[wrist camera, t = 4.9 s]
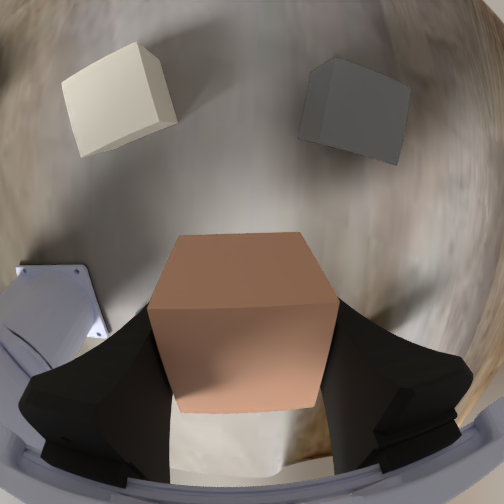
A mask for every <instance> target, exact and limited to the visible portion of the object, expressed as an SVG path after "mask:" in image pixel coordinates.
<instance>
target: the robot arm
mask: <svg viewBox="0 0 504 504" xmlns="http://www.w3.org/2000/svg"><path fill="white" fill-rule="evenodd" d="M76 269H77V270H79V272H78V271H77V270H76ZM16 272H17V275H18V277H17V278H16V279H15V280H14V281H13V282H12V283H11V284H10V285H9V286H8V287H7V288H6V289H5V290H4V291H3V292H2V293H1V294H0V487H1V488H2V489H4V490H5V491H7V492H8V493H10V494H11V495H13V496H14V497H16V498H17V499H19V500H20V501H22V502H24V503H26V504H445V503H446V502H448V501H450V500H451V499H453V498H455V497H456V496H458V495H459V494H461V493H462V492H464V491H465V490H467V489H468V488H470V487H471V486H473V485H474V484H475V483H477V482H478V481H479V480H481V479H482V478H484V477H485V476H486V475H487V474H489V473H490V472H491V471H492V470H494V469H495V468H496V467H497V466H499V465H500V464H501V463H502V462H503V461H504V398H503V397H501V398H500V399H498V400H497V401H495V402H494V403H492V404H490V405H489V406H488V407H486V408H485V409H484V410H483V411H481V412H480V414H479V415H478V416H477V417H476V418H475V419H474V421H473V422H471V423H470V424H468V425H466V426H464V427H463V428H461V429H459V428H458V426H457V424H456V422H455V420H454V419H456V417H457V413H456V411H455V409H454V408H455V406H456V405H457V404H458V403H459V401H460V400H461V399H462V398H463V396H464V395H465V394H466V392H467V391H468V389H469V388H470V386H471V383H472V381H473V373H472V372H471V370H470V369H469V367H468V366H467V365H466V363H465V362H464V360H463V359H462V358H461V357H459V356H455V355H451V354H446V353H442V352H438V351H435V350H432V349H429V348H426V347H422V346H420V345H417V344H414V343H412V342H410V341H407V340H405V339H403V338H401V337H398V336H396V335H394V334H392V333H390V332H388V331H387V330H385V329H383V328H381V327H379V326H378V325H376V324H374V323H373V322H371V321H370V320H368V319H367V318H365V317H364V316H362V315H361V314H359V313H358V312H357V311H355V310H354V309H352V308H351V307H350V306H349V305H347V304H346V303H345V302H343V301H342V300H341V299H340V298H338V299H339V301H340V303H339V308H338V313H337V318H336V323H335V327H334V332H333V336H332V341H331V345H330V349H329V353H328V357H327V361H326V365H325V369H324V373H323V377H322V381H321V384H320V389H321V392H322V396H323V401H324V405H325V410H326V415H327V421H328V426H329V432H330V439H331V446H332V453H333V462H334V471H335V472H334V473H335V475H334V476H329V477H324V478H319V479H314V480H308V481H302V482H294V483H287V484H278V485H267V486H252V487H200V486H185V485H175V484H170V467H169V437H170V417H171V404H172V396H173V391H172V389H171V386H170V383H169V380H168V377H167V374H166V371H165V368H164V365H163V362H162V359H161V356H160V353H159V350H158V346H157V343H156V340H155V336H154V333H153V329H152V326H151V322H150V319H149V315H148V311H147V307H148V305H149V303H148V304H147V305H146V306H145V307H144V308H143V309H142V310H141V311H140V312H139V313H138V314H137V315H136V316H134V317H133V318H132V319H131V320H130V321H129V322H128V323H127V324H125V325H124V326H123V327H122V328H121V329H120V330H118V331H117V332H116V333H115V334H113V335H112V336H111V337H109V338H108V339H107V340H105V341H104V342H103V343H101V344H100V345H98V346H96V347H95V348H93V349H91V350H90V351H88V352H86V353H85V354H83V355H82V356H80V357H78V358H76V359H75V357H76V356H77V354H78V352H79V350H80V348H81V346H82V344H83V342H84V340H85V339H86V337H96V338H107V337H108V335H109V333H108V330H107V328H106V325H105V322H104V320H103V317H102V314H101V311H100V308H99V305H98V302H97V299H96V296H95V293H94V290H93V287H92V283H91V280H90V277H89V273H88V270H87V268H86V266H84V265H19V266H17V267H16ZM351 493H352V494H351Z"/></svg>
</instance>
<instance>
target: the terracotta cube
mask: <svg viewBox="0 0 504 504" xmlns="http://www.w3.org/2000/svg"><path fill="white" fill-rule="evenodd" d="M339 303H340V301H339V299H338V297H337V296H336V294H335V292H334V290H333V288H332V287H331V285H330V283H329V281H328V279H327V278H326V276H325V274H324V272H323V271H322V269H321V267H320V265H319V264H318V262H317V260H316V258H315V257H314V255H313V253H312V252H311V250H310V248H309V246H308V245H307V243H306V241H305V240H304V238H303V236H302V235H301V233H300V232H283V233H246V234H215V235H189V236H179V237H178V239H177V241H176V244H175V246H174V248H173V250H172V252H171V254H170V257H169V259H168V261H167V263H166V265H165V268H164V270H163V272H162V274H161V277H160V279H159V281H158V283H157V286H156V288H155V290H154V293H153V295H152V298H151V300H150V302H149V305H148V307H147V311H148V315H149V319H150V322H151V326H152V329H153V333H154V336H155V340H156V343H157V346H158V350H159V353H160V356H161V359H162V362H163V365H164V368H165V371H166V374H167V377H168V380H169V383H170V386H171V389H172V391H173V394H174V397H175V399H176V402H177V405H178V407H179V410H180V412H181V413H207V414H228V413H256V412H271V411H282V410H292V409H301V408H309V407H314V405H315V402H316V398H317V395H318V391H319V388H320V384H321V381H322V377H323V373H324V369H325V365H326V361H327V357H328V353H329V349H330V345H331V341H332V336H333V332H334V327H335V323H336V318H337V313H338V308H339Z"/></svg>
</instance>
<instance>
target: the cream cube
mask: <svg viewBox="0 0 504 504" xmlns="http://www.w3.org/2000/svg"><path fill="white" fill-rule="evenodd" d="M61 84H62V89H63V94H64V98H65V102H66V106H67V111H68V114H69V118H70V122H71V126H72V129H73V133H74V136H75V140H76V143H77V146H78V150H79V153H80V156H81V158H83V157H86V156H90V155H94V154H98V153H102V152H105V151H110V150H114V149H116V148H119V147H121V146H123V145H125V144H127V143H130V142H132V141H134V140H137V139H139V138H141V137H144V136H146V135H149V134H151V133H154V132H156V131H159V130H161V129H164V128H166V127H169V126H172V125H175V124H177V123H178V121H177V117H176V114H175V111H174V107H173V104H172V101H171V97H170V94H169V91H168V87H167V84H166V81H165V77H164V74H163V70H162V67H161V63H160V60H159V59H158V58H156V57H155V56H154V55H153V54H152V53H150V52H149V51H148V50H147V49H146V48H144V47H143V46H142V45H141V44H139V43H138V42H137V41H136V42H134V43H132V44H130V45H127V46H125V47H123V48H121V49H119V50H117V51H115V52H113V53H111V54H109V55H107V56H105V57H103V58H102V59H100V60H98V61H96V62H94V63H93V64H91V65H89V66H87V67H86V68H84V69H82V70H81V71H79V72H77V73H76V74H74V75H73V76H71V77H69V78H68V79H66V80H65V81H63V82H62V83H61Z"/></svg>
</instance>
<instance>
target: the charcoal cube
mask: <svg viewBox="0 0 504 504" xmlns="http://www.w3.org/2000/svg"><path fill="white" fill-rule="evenodd" d="M411 89H412V88H410V87H408V86H406V85H404V84H402V83H400V82H398V81H396V80H394V79H391V78H389V77H387V76H385V75H382V74H380V73H378V72H375V71H373V70H370V69H368V68H365V67H363V66H360V65H357V64H355V63H352V62H349V61H346V60H343V59H340V58H337V57H333V58H332V59H330V60H329V61H327V62H326V63H324V64H323V65H321V66H319V67H318V68H316V69H315V70H313V71H312V72H310V78H309V83H308V89H307V94H306V99H305V105H304V110H303V115H302V120H301V125H300V131H299V136H298V139H301V140H305V141H310V142H314V143H318V144H322V145H326V146H330V147H334V148H338V149H341V150H345V151H349V152H352V153H356V154H359V155H362V156H366V157H370V158H373V159H376V160H380V161H383V162H386V163H390V164H393V165H396V166H397V164H398V160H399V155H400V151H401V146H402V141H403V136H404V131H405V126H406V121H407V115H408V109H409V103H410V96H411Z"/></svg>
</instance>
